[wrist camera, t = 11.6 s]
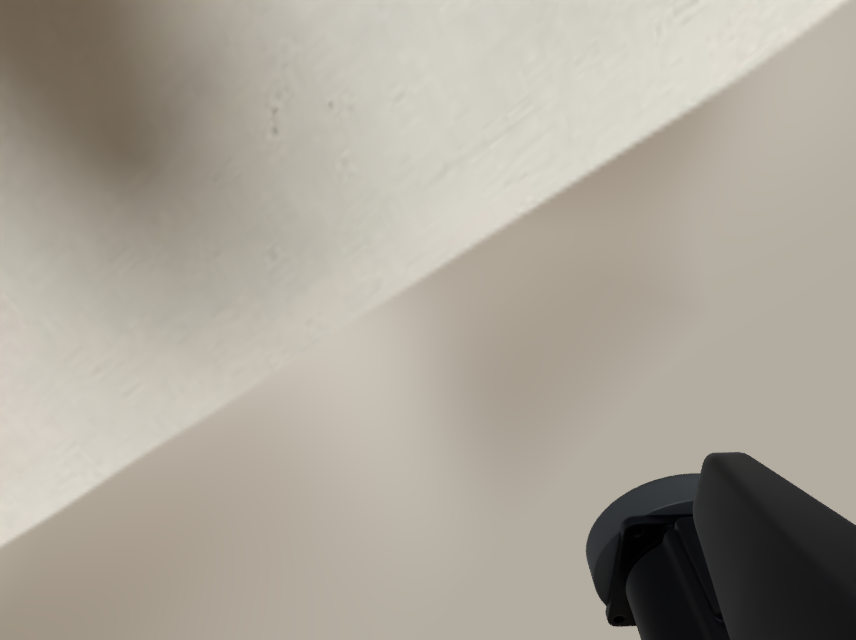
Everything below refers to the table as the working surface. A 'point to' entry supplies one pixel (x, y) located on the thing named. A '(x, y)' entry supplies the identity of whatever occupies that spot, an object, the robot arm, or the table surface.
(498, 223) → the table surface
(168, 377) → the table surface
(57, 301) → the table surface
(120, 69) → the table surface
